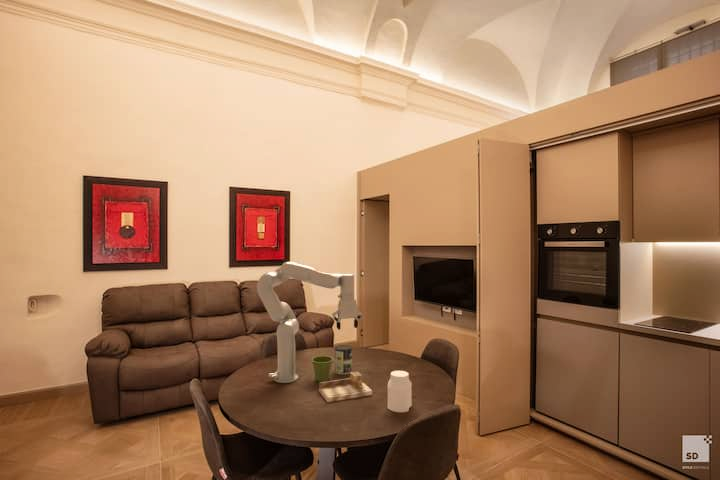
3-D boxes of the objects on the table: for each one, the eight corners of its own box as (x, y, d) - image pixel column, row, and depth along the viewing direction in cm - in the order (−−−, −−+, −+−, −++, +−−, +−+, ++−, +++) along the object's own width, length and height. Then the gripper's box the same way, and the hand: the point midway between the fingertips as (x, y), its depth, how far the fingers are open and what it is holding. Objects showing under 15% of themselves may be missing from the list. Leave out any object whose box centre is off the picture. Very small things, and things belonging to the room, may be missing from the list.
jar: (393, 400, 174) (393, 368, 175) (413, 403, 171) (412, 370, 171) (385, 410, 164) (385, 376, 164) (406, 414, 160) (406, 379, 160)
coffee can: (352, 368, 219) (352, 344, 219) (351, 374, 209) (351, 349, 209) (335, 368, 219) (335, 344, 220) (333, 374, 209) (333, 349, 209)
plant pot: (307, 381, 199) (307, 360, 199) (319, 374, 209) (319, 354, 209) (325, 385, 193) (325, 363, 193) (337, 378, 204) (337, 357, 204)
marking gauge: (358, 392, 179) (358, 379, 179) (350, 384, 189) (350, 372, 189) (365, 390, 180) (365, 378, 181) (357, 383, 191) (357, 371, 191)
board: (327, 402, 172) (327, 392, 172) (319, 391, 185) (319, 382, 185) (372, 394, 181) (372, 385, 181) (361, 384, 194) (361, 376, 194)
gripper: (334, 298, 193) (334, 331, 193) (364, 296, 200) (364, 328, 199) (329, 296, 200) (329, 328, 200) (359, 295, 207) (359, 325, 206)
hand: (347, 328), depth 200 cm, fingers open, 9 cm apart
